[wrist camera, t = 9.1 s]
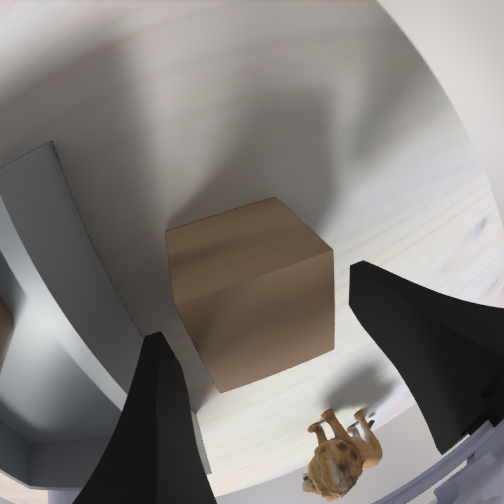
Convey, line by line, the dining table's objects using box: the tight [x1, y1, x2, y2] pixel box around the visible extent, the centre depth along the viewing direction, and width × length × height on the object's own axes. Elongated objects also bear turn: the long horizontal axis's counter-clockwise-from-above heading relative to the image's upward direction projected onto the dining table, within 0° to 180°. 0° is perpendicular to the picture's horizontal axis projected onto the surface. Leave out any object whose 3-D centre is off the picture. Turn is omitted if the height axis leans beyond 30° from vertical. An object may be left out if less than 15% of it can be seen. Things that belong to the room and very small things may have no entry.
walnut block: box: [165, 197, 335, 393], centre depth 12 cm, size 5×5×5 cm
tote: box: [0, 141, 212, 491], centre depth 11 cm, size 20×17×5 cm
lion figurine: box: [302, 409, 382, 501], centre depth 24 cm, size 15×5×9 cm, turn 59°
